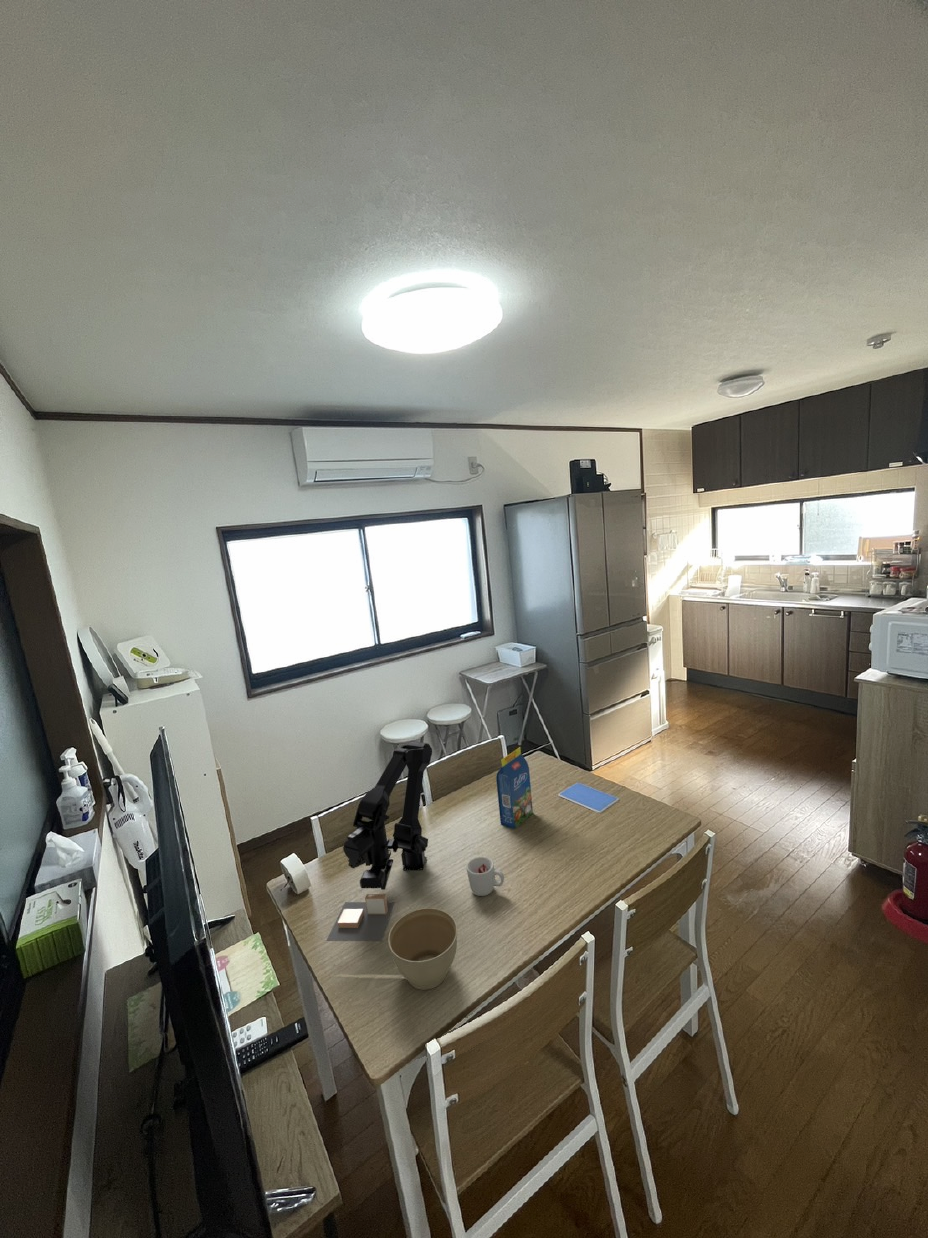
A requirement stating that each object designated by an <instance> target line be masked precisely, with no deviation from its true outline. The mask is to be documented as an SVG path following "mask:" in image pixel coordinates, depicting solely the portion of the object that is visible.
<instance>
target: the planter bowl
mask: <svg viewBox="0 0 928 1238" xmlns="http://www.w3.org/2000/svg"><path fill="white" fill-rule="evenodd" d="M457 946H458V926H457V923H456V921H455V919H454V917H453V916H452V915H450V914H449V913H448V912H446V911H445V910H442V909H439V908H434V907H433V908H432V907H425V908H424V907H423V908H418V909H415V910H412V911H410V912H408V913H406V914H404V915H402V916H401V917H399V919H398V920H396V922H394V924H393V925H392V927H391V928H390V930H389V934H388V947H389V950H390V952H391V957H392V961H393V963H394V965H395V967H396V969H397V970H398V972H399V973H400V974H401V976H403V978H405V980H407V981H408V983H409V984H410V985H411V986H412V987H414V989H418V990H422V991H425V990H431V989H434V988H436V987H439V985H441V983H443V981H445V979H446V977H447V974H448V972H449V970H450V968H451V967H452V964H453V963H454V959H455V957H456V954H457Z"/></svg>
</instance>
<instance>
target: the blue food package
mask: <svg viewBox="0 0 928 1238" xmlns="http://www.w3.org/2000/svg"><path fill="white" fill-rule="evenodd" d="M521 751H522V750H521V746H519V747H518V748H516V749H515V750H513V751H512V752H511V753H509V754H507V755H506V756H505V757H503V758H502V759H501V760H500V761H501V767H500V769H499V770H498V771H497V773H496V777H495V779H496V790H497V799H498V800H497V801H498V810H499V818H500V819H499V822H500V825H502V826H505V827H507V828H510V829H514V830H515V829H516V828H518V827H520V825H521V824H522V823H524V821H526V820H527V819H528V818H530V816H531V815H532V814H533V812H534V810H533V809H534V808H533V800H532V787H531V786H532V785H531V776H530V775H531V774H530V766H529V764H528V761H527V759H526V758H525V757H524V756H523V755H522V752H521Z"/></svg>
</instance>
